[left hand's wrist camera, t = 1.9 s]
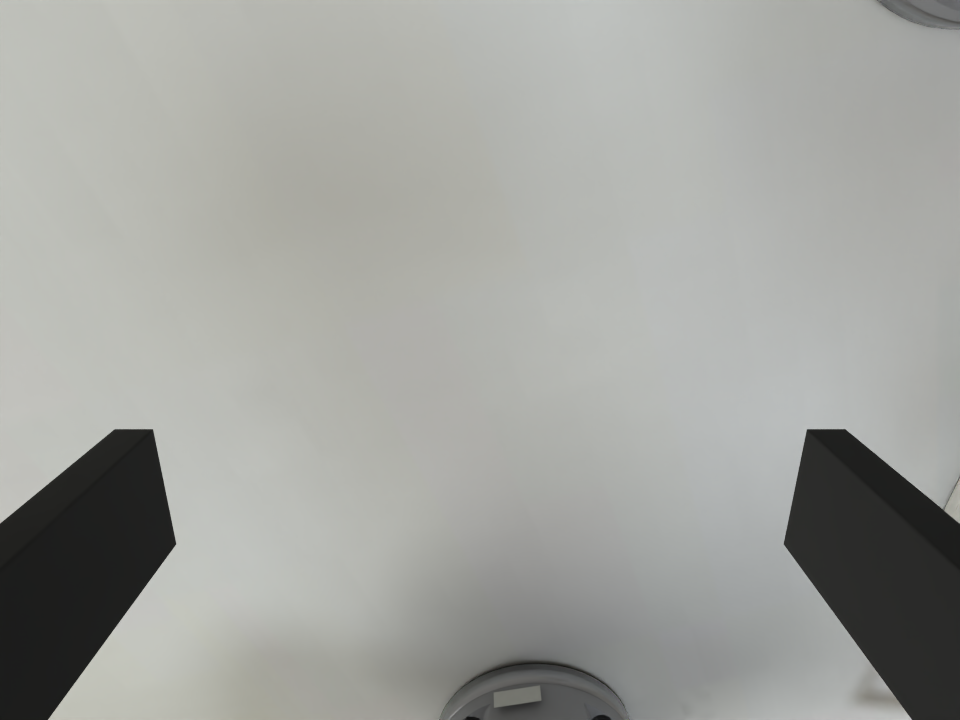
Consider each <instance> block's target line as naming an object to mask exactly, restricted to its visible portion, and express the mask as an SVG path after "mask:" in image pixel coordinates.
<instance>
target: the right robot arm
mask: <svg viewBox="0 0 960 720" xmlns="http://www.w3.org/2000/svg"><path fill="white" fill-rule="evenodd" d="M877 1H879V2H880V3H881V4H883V5H884V6H885V7H886V8H888V9H889V10H891V11H892V12H894V13H896V14H897V15H899V16H901V17H903V18H905V19H908V20H910V21H912V22H915V23H918V24H921V25H925V26H929V27H935V28H941V29H960V0H877Z"/></svg>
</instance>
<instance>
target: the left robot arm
mask: <svg viewBox="0 0 960 720" xmlns="http://www.w3.org/2000/svg"><path fill="white" fill-rule="evenodd" d="M175 545H176V541H175V536H174V531H173V526H172V521H171V516H170V511H169V506H168V501H167V496H166V492H165V487H164V482H163V477H162V472H161V467H160V462H159V457H158V452H157V447H156V442H155V437H154V432H153V429H115V430H113V431H112V432H111V433H110V434H109V435H107V436H106V437H105V438H104V439H102V440H101V441H100V442H99V443H98V444H96V445H95V446H94V447H93V448H92V449H90V450H89V451H88V452H87V453H85V454H84V455H83V456H82V457H81V458H79V459H78V460H77V461H76V462H75V463H73V464H72V465H71V466H70V467H68V468H67V469H66V470H65V471H64V472H62V473H61V474H60V475H59V476H58V477H56V478H55V479H54V480H53V481H51V482H50V483H49V484H48V485H47V486H45V487H44V488H43V489H42V490H41V491H39V492H38V493H37V494H36V495H34V496H33V497H32V498H31V499H30V500H28V501H27V502H26V503H25V504H24V505H22V506H21V507H20V508H19V509H17V510H16V511H15V512H14V513H13V514H11V515H10V516H9V517H8V518H7V519H5V520H4V521H3V522H2V523H0V720H48V719H49V717H50V716H51V715H52V713H53V712H54V711H55V709H56V708H57V706H58V705H59V704H60V702H61V701H62V700H63V698H64V697H65V696H66V694H67V693H68V691H69V690H70V689H71V687H72V686H73V685H74V683H75V682H76V680H77V679H78V678H79V676H80V675H81V674H82V672H83V671H84V670H85V668H86V667H87V665H88V664H89V663H90V661H91V660H92V659H93V657H94V656H95V654H96V653H97V652H98V650H99V649H100V648H101V646H102V645H103V644H104V642H105V641H106V639H107V638H108V637H109V635H110V634H111V633H112V631H113V630H114V629H115V627H116V626H117V624H118V623H119V622H120V620H121V619H122V618H123V616H124V615H125V613H126V612H127V611H128V609H129V608H130V607H131V605H132V604H133V603H134V601H135V600H136V598H137V597H138V596H139V594H140V593H141V592H142V590H143V589H144V587H145V586H146V585H147V583H148V582H149V581H150V579H151V578H152V577H153V575H154V574H155V572H156V571H157V570H158V568H159V567H160V566H161V564H162V563H163V562H164V560H165V559H166V557H167V556H168V555H169V553H170V552H171V551H172V549H173V548H174V546H175ZM784 545H785V546H786V548H787V549H788V551H789V552H790V553H791V555H792V556H793V557H794V559H795V560H796V562H797V563H798V564H799V566H800V567H801V568H802V570H803V571H804V572H805V574H806V575H807V577H808V578H809V579H810V581H811V582H812V583H813V585H814V586H815V587H816V589H817V590H818V592H819V593H820V594H821V596H822V597H823V598H824V600H825V601H826V603H827V604H828V605H829V607H830V608H831V609H832V611H833V612H834V613H835V615H836V616H837V618H838V619H839V620H840V622H841V623H842V624H843V626H844V627H845V629H846V630H847V631H848V633H849V634H850V635H851V637H852V638H853V639H854V641H855V642H856V644H857V645H858V646H859V648H860V649H861V650H862V652H863V653H864V654H865V656H866V657H867V659H868V660H869V661H870V663H871V664H872V665H873V667H874V668H875V670H876V671H877V672H878V674H879V675H880V676H881V678H882V679H883V680H884V682H885V683H886V685H887V686H888V687H889V689H890V690H891V691H892V693H893V694H894V696H895V697H896V698H897V700H898V701H899V702H900V704H901V705H902V706H903V708H904V709H905V711H906V712H907V713H908V715H909V716H910V717H911V719H912V720H960V523H958V522H957V521H956V520H955V519H953V518H952V517H951V516H950V515H949V514H947V513H946V512H945V511H944V510H943V509H941V508H940V507H939V506H938V505H936V504H935V503H934V502H933V501H932V500H930V499H929V498H928V497H927V496H926V495H924V494H923V493H922V492H921V491H919V490H918V489H917V488H916V487H915V486H913V485H912V484H911V483H910V482H909V481H907V480H906V479H905V478H904V477H902V476H901V475H900V474H899V473H898V472H896V471H895V470H894V469H893V468H892V467H890V466H889V465H888V464H887V463H885V462H884V461H883V460H882V459H881V458H879V457H878V456H877V455H876V454H875V453H873V452H872V451H871V450H870V449H868V448H867V447H866V446H865V445H864V444H862V443H861V442H860V441H859V440H858V439H856V438H855V437H854V436H853V435H851V434H850V433H849V432H848V431H847V430H845V429H807V432H806V437H805V442H804V447H803V452H802V457H801V462H800V467H799V472H798V477H797V482H796V487H795V492H794V496H793V501H792V506H791V511H790V516H789V521H788V526H787V531H786V536H785V541H784ZM439 720H629V718H628V715H627V712H626V710H625V708H624V706H623V704H622V703H621V701H620V700H619V698H618V697H617V696H616V695H615V694H614V693H613V692H612V691H611V690H610V689H609V688H608V687H607V686H606V685H604V684H603V683H601V682H600V681H598V680H597V679H595V678H593V677H591V676H589V675H587V674H585V673H583V672H580V671H577V670H574V669H570V668H567V667H562V666H556V665H548V664H524V665H516V666H510V667H505V668H502V669H498V670H495V671H492V672H490V673H487V674H485V675H483V676H480V677H478V678H476V679H475V680H473V681H471V682H470V683H468V684H467V685H465V686H464V687H463V688H462V689H460V690H459V691H458V692H457V693H456V694H455V695H454V696H453V697H452V698H451V699H450V701H449V702H448V703H447V705H446V706H445V708H444V710H443V712H442V714H441V716H440V719H439Z"/></svg>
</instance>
